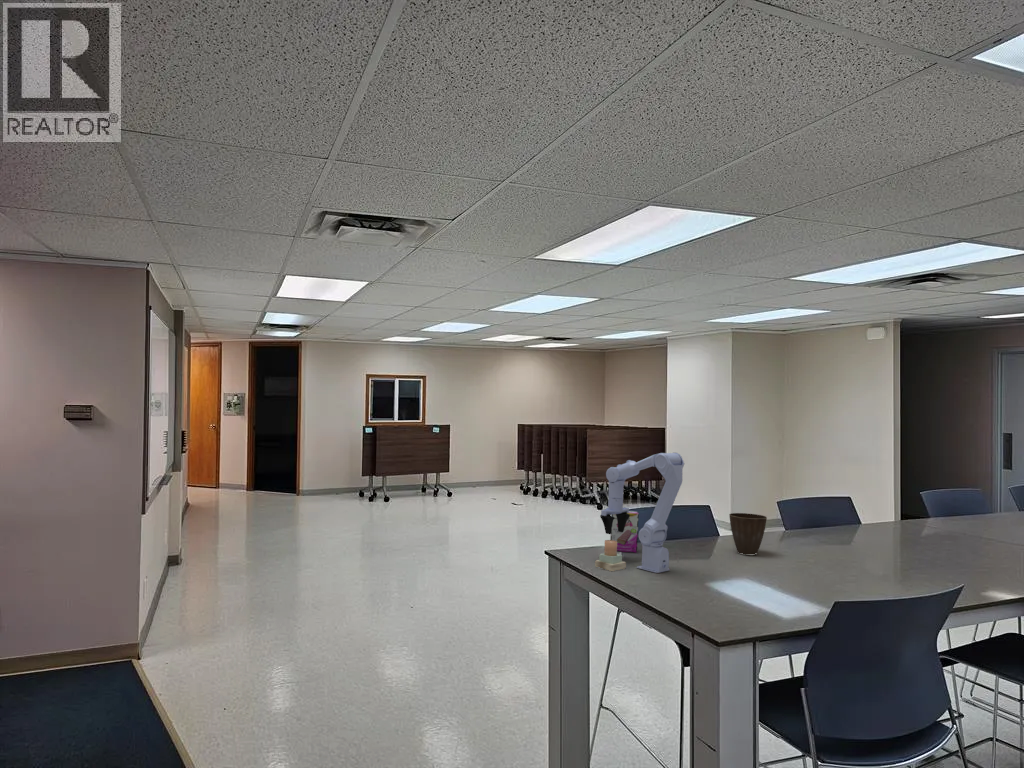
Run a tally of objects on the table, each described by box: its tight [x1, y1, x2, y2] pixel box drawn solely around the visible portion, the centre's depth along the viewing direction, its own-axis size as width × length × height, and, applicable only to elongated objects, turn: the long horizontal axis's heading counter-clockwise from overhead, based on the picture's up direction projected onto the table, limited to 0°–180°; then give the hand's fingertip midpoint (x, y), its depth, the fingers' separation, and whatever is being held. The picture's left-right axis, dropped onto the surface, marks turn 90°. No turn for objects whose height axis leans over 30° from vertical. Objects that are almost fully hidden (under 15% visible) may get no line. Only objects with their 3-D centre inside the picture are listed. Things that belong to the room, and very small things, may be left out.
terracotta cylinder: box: [603, 539, 618, 556], centre depth 251 cm, size 5×5×5 cm
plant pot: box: [729, 512, 768, 554], centre depth 286 cm, size 15×15×16 cm
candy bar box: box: [609, 510, 640, 554], centre depth 281 cm, size 11×5×16 cm, turn 84°
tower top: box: [598, 552, 623, 564], centre depth 251 cm, size 6×6×2 cm
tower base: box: [594, 559, 627, 572], centre depth 251 cm, size 8×8×3 cm
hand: (614, 532), depth 265 cm, fingers open, 7 cm apart
